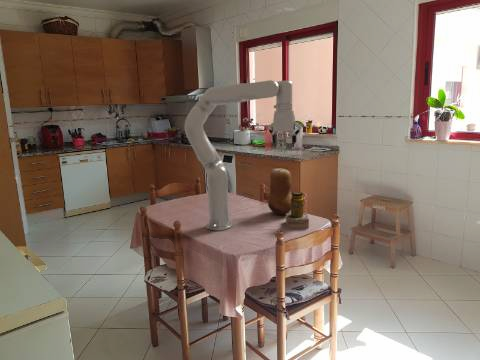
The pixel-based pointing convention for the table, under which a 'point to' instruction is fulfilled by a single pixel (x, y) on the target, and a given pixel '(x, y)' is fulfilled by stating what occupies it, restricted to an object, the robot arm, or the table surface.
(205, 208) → the table surface
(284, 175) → the butternut squash
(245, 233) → the table surface
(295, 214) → the condiment
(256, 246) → the table surface
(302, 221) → the beige square block
